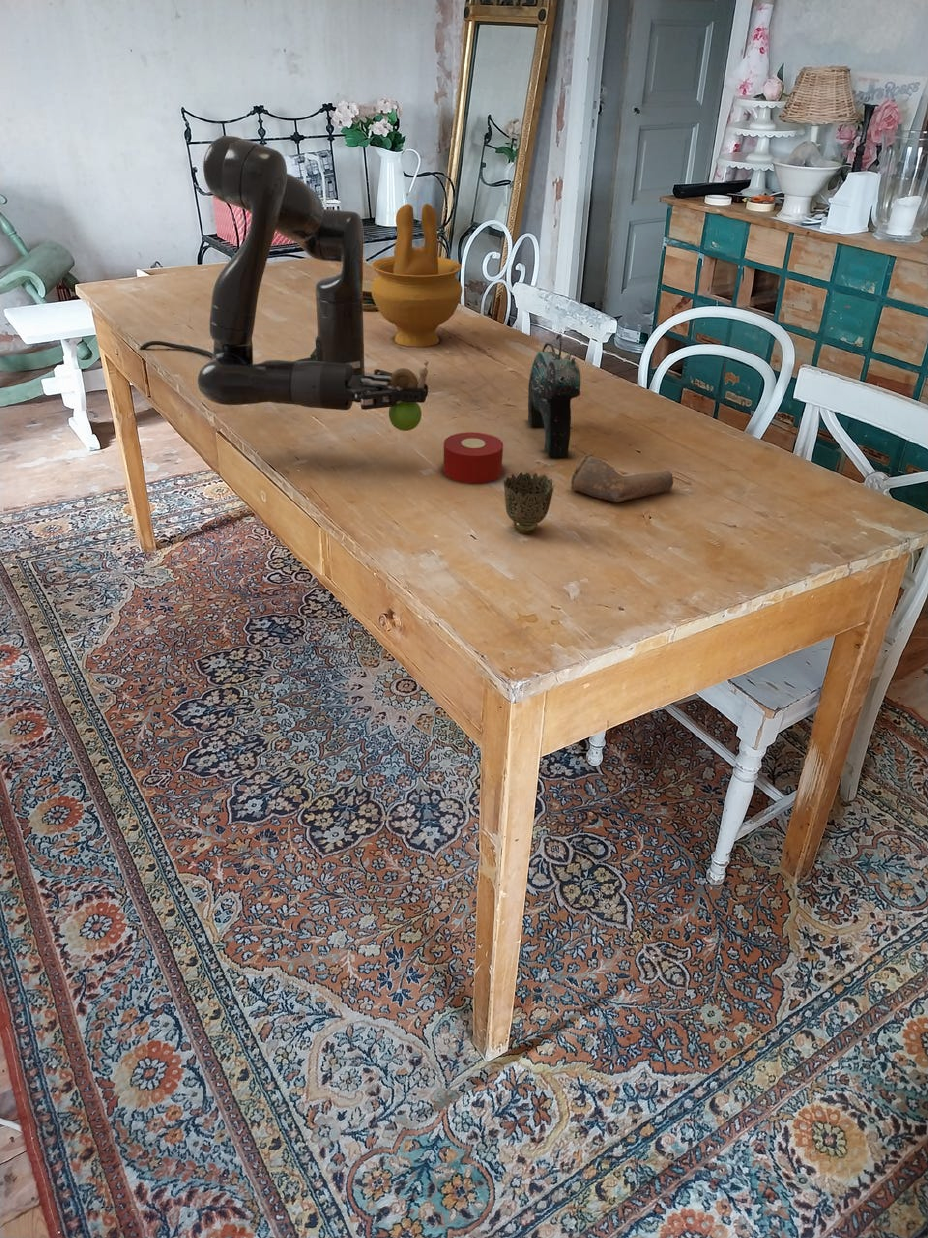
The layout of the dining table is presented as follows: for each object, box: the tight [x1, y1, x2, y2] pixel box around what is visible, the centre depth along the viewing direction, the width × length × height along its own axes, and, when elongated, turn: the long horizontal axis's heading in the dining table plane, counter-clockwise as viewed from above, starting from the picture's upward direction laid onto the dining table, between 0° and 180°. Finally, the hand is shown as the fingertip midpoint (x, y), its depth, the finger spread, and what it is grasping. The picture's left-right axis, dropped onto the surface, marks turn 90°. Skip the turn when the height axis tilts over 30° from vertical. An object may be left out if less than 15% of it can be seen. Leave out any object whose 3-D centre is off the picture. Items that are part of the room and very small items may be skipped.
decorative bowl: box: [371, 203, 463, 348], centre depth 213 cm, size 21×21×30 cm
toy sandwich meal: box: [362, 279, 379, 312], centre depth 244 cm, size 12×14×5 cm
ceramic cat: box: [527, 333, 581, 459], centre depth 167 cm, size 20×6×20 cm, turn 9°
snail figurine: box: [388, 360, 429, 432], centre depth 153 cm, size 5×6×12 cm
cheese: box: [442, 431, 504, 484], centre depth 158 cm, size 10×10×5 cm
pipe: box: [570, 453, 674, 503], centre depth 153 cm, size 6×17×10 cm
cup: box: [503, 471, 555, 535], centre depth 140 cm, size 8×7×8 cm
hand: (426, 393), depth 153 cm, fingers closed on snail figurine
